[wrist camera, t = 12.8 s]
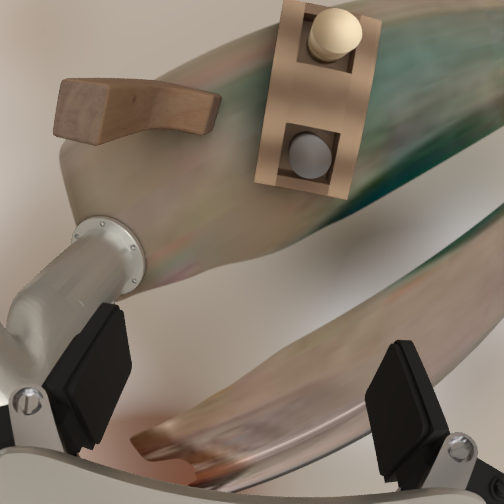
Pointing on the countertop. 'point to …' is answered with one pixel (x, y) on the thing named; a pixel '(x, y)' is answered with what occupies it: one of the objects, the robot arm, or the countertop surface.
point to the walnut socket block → (315, 107)
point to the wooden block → (129, 108)
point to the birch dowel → (333, 35)
